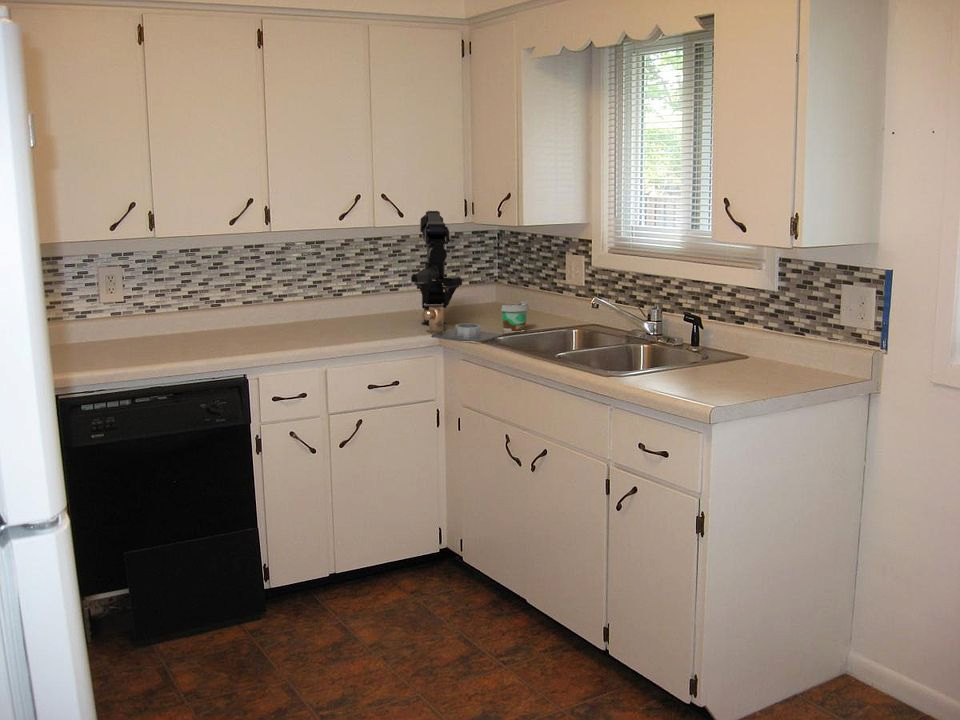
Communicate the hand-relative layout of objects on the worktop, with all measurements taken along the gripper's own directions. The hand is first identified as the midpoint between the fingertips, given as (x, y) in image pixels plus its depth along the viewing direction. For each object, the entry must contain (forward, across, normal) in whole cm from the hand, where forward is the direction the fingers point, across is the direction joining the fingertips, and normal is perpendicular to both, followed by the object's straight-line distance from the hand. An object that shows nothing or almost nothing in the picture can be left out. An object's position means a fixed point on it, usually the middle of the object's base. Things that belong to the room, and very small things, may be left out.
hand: (436, 304), depth 349 cm
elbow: (+10, 0, -2) cm, 10 cm away
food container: (+10, +22, +19) cm, 31 cm away
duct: (+10, +14, 0) cm, 17 cm away
